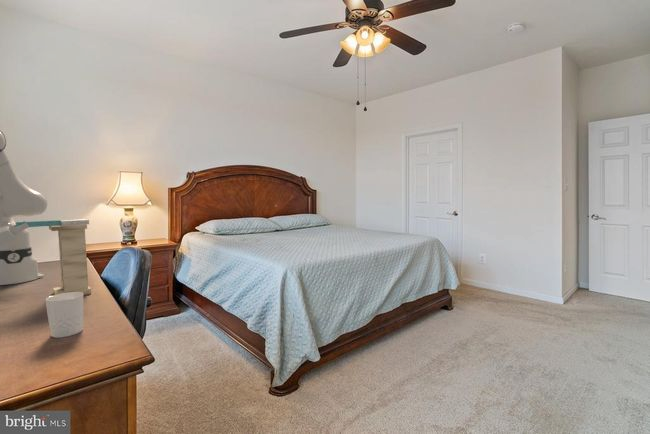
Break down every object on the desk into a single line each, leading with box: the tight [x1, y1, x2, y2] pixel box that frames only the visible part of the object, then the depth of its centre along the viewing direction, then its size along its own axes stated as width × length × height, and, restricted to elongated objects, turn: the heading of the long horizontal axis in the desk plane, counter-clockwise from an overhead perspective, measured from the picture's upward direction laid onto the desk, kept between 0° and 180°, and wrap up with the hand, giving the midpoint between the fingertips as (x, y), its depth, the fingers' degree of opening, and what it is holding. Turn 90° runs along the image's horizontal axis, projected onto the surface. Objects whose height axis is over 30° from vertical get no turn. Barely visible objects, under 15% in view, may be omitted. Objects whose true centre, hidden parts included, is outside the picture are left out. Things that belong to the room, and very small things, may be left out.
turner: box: [15, 218, 90, 228], centre depth 119 cm, size 20×8×2 cm, turn 134°
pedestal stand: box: [48, 224, 92, 296], centre depth 123 cm, size 12×10×26 cm
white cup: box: [45, 292, 84, 339], centre depth 87 cm, size 8×8×10 cm
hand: (27, 223), depth 114 cm, fingers open, 8 cm apart
